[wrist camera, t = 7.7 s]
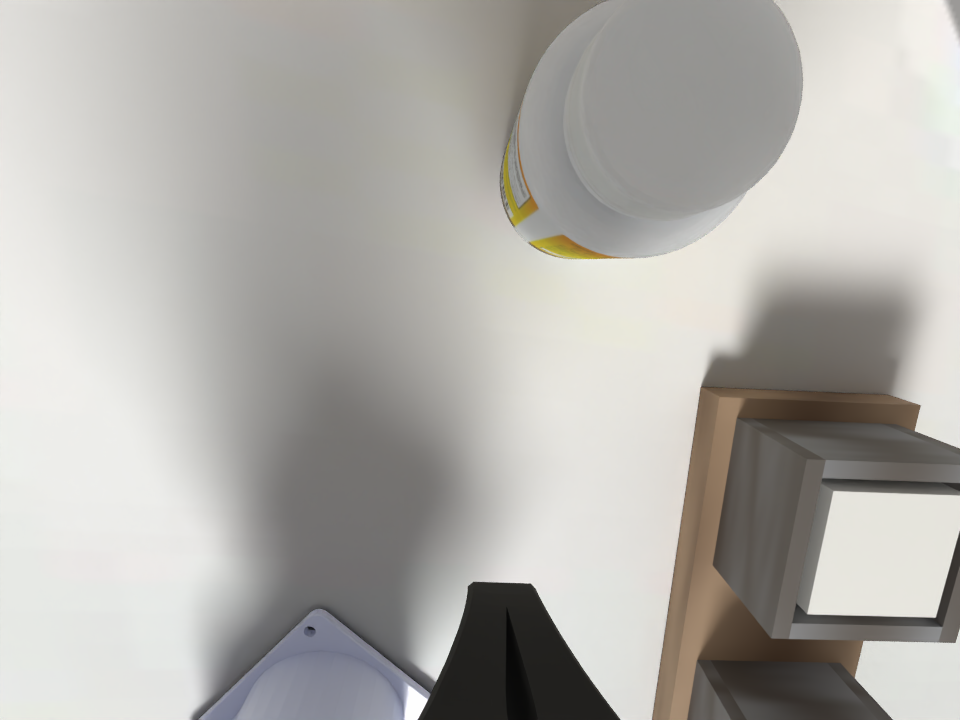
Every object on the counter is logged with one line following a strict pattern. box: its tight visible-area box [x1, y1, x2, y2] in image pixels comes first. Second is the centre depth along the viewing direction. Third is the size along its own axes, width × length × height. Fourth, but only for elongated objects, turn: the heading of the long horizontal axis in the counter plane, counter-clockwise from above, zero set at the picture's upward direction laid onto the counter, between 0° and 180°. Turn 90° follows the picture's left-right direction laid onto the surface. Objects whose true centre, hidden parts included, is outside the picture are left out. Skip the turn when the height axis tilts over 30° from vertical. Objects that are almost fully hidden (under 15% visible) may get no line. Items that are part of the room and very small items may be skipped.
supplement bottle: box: [500, 0, 803, 259], centre depth 14 cm, size 6×6×10 cm
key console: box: [652, 387, 960, 720], centre depth 20 cm, size 8×19×6 cm, turn 177°
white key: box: [796, 478, 960, 618], centre depth 17 cm, size 4×4×2 cm
